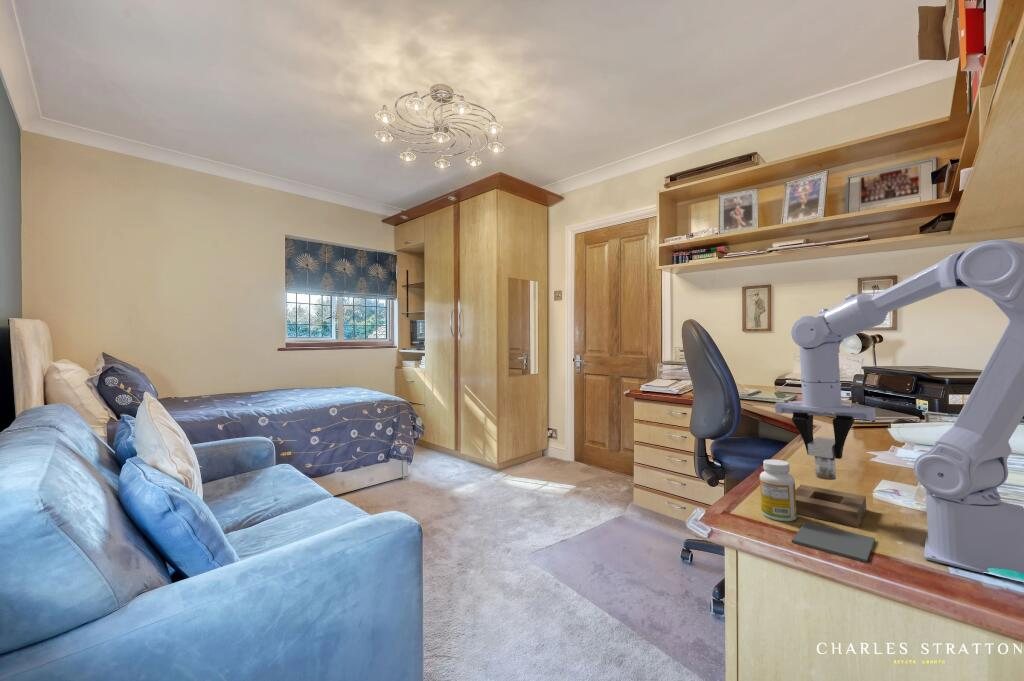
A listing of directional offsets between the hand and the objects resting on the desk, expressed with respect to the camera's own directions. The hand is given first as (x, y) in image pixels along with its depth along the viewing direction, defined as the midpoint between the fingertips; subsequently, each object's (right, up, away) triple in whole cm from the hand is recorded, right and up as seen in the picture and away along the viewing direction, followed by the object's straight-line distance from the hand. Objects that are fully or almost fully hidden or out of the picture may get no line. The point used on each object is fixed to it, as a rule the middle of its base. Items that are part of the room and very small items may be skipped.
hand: (824, 455), depth 75 cm
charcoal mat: (-7, -10, -11) cm, 16 cm away
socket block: (+1, -10, +1) cm, 10 cm away
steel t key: (0, -4, 0) cm, 4 cm away
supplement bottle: (-9, -11, -1) cm, 14 cm away
